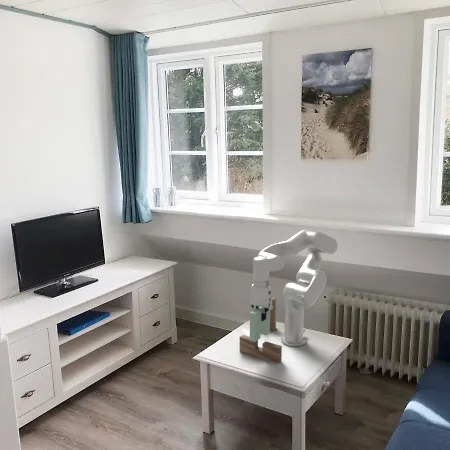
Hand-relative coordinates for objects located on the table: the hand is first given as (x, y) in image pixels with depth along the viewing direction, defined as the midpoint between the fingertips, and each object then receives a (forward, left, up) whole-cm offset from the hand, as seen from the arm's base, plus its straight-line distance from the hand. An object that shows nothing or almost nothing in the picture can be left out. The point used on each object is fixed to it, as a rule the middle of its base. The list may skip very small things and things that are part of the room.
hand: (260, 319), depth 228 cm
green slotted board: (0, 0, -9) cm, 9 cm away
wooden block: (-30, -14, -20) cm, 39 cm away
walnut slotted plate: (0, 0, -20) cm, 20 cm away
